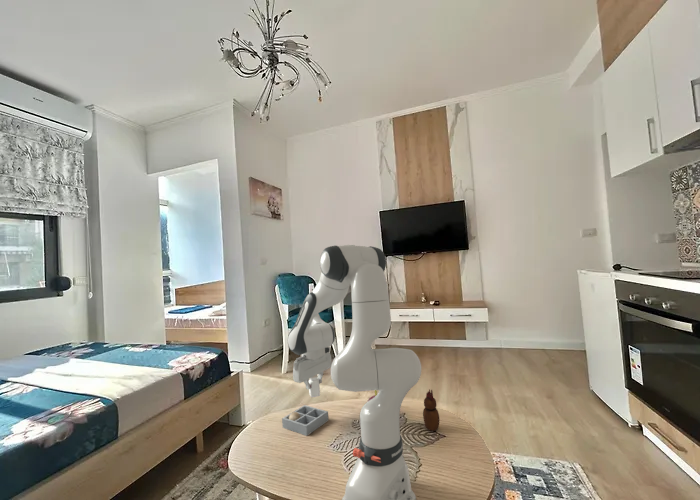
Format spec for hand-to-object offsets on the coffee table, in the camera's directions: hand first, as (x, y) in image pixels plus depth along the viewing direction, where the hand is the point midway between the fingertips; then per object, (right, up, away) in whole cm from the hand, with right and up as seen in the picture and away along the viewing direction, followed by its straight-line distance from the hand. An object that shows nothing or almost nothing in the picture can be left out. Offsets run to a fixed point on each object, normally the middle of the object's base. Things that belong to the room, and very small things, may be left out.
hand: (314, 385), depth 132 cm
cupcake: (+27, -13, +3) cm, 30 cm away
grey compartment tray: (-3, -15, -1) cm, 15 cm away
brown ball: (-8, -15, -2) cm, 17 cm away
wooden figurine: (+46, -11, -11) cm, 48 cm away
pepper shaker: (0, -4, 0) cm, 4 cm away
